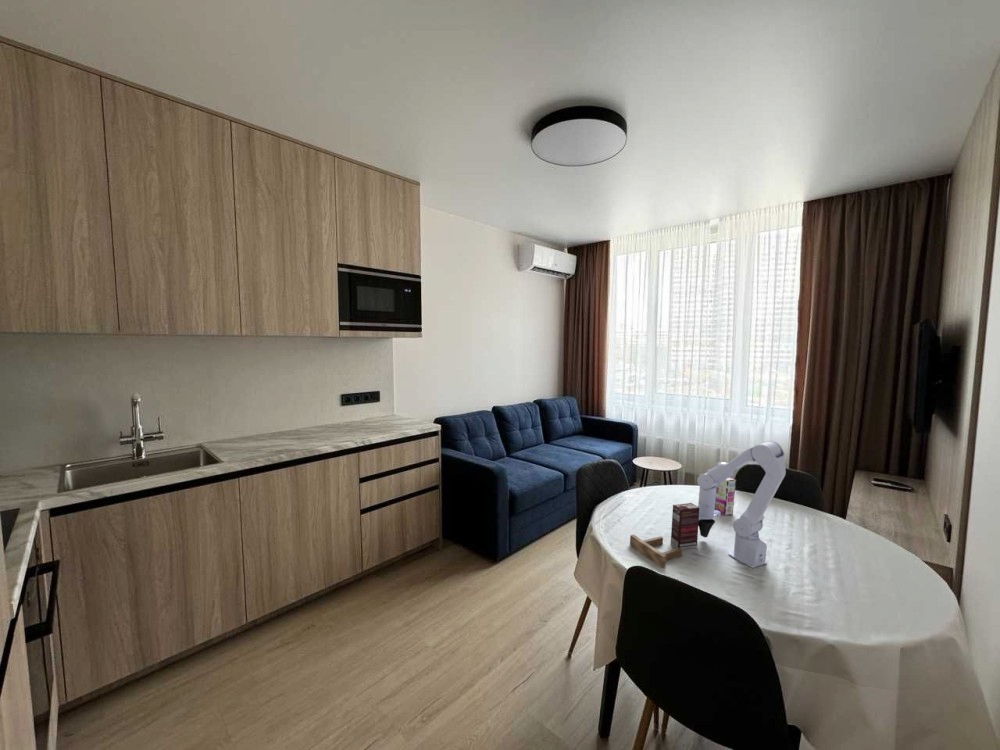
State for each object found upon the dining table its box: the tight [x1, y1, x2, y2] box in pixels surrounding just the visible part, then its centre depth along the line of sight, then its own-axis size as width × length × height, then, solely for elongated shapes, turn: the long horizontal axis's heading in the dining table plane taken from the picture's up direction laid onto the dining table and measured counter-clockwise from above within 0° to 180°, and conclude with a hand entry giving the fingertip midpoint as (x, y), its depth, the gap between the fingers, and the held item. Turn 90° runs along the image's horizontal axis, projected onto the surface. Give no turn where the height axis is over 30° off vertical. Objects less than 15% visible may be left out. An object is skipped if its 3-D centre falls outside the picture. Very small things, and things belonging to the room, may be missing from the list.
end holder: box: [629, 534, 683, 568], centre depth 151 cm, size 16×13×4 cm
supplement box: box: [670, 502, 699, 550], centre depth 156 cm, size 9×5×16 cm, turn 104°
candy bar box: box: [714, 477, 737, 516], centre depth 189 cm, size 11×5×16 cm, turn 17°
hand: (703, 536), depth 161 cm, fingers closed
